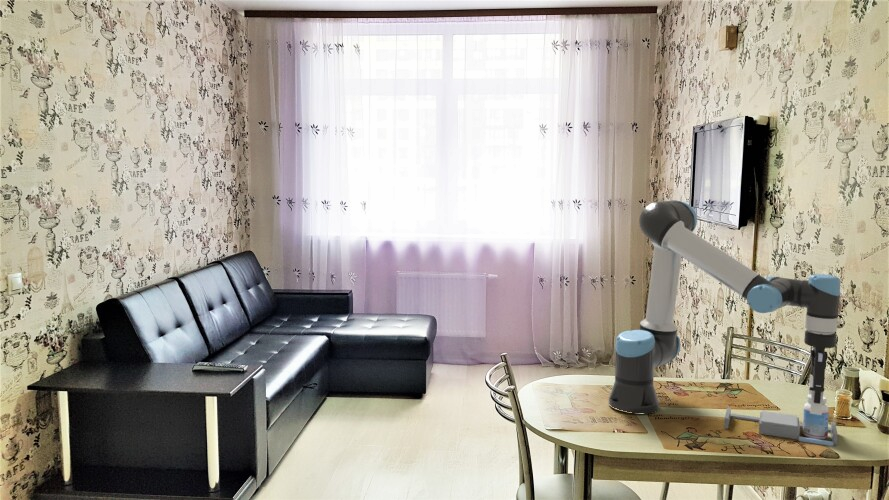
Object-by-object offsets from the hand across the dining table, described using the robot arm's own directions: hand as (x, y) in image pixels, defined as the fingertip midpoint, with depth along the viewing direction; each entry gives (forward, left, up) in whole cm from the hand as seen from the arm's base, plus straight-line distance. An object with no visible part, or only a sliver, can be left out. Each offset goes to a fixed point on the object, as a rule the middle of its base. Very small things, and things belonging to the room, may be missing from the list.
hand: (814, 406), depth 183 cm
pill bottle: (0, 0, -9) cm, 9 cm away
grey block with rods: (-9, 0, -9) cm, 12 cm away
